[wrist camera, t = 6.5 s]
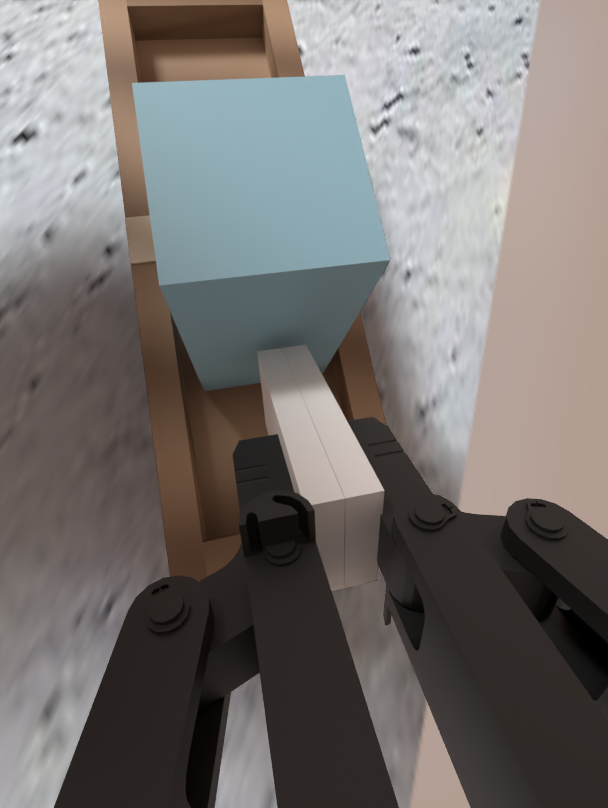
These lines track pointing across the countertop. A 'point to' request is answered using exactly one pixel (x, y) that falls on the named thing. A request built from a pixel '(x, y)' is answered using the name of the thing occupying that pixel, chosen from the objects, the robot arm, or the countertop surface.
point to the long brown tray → (160, 339)
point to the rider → (258, 217)
